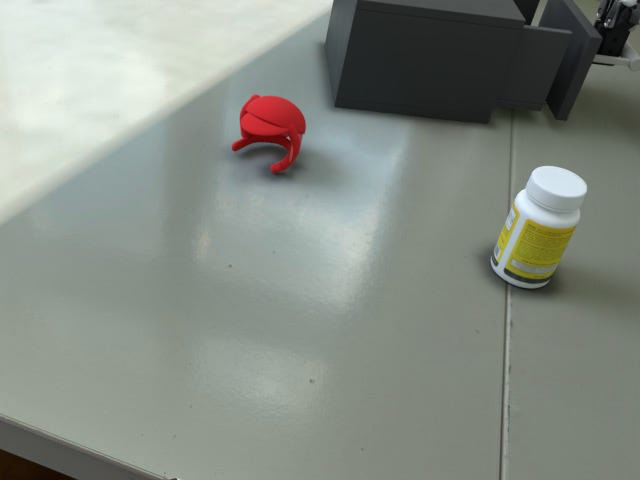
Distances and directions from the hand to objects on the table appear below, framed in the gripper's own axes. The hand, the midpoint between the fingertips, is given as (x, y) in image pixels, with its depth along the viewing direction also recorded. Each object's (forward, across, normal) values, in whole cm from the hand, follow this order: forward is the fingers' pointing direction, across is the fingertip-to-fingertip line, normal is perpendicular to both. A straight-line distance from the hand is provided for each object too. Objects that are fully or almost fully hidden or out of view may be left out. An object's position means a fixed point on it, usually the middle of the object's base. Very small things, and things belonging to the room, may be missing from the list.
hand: (597, 61), depth 82 cm
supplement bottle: (+5, -30, +15) cm, 34 cm away
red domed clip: (+5, -18, +35) cm, 39 cm away
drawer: (+4, 0, +8) cm, 9 cm away
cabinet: (+5, 0, +20) cm, 20 cm away
